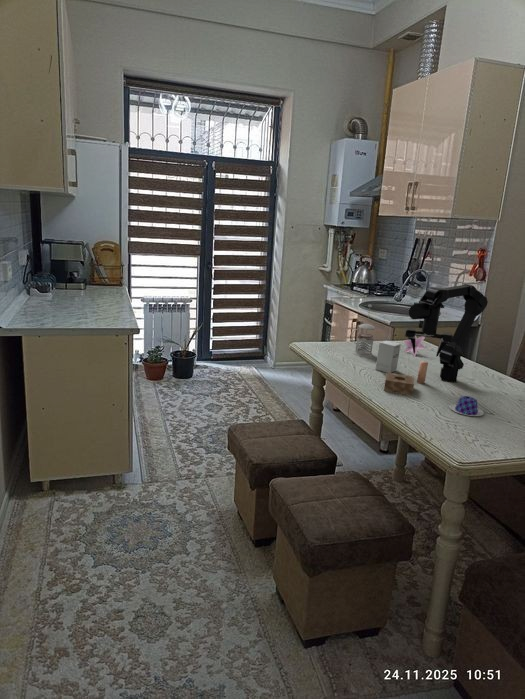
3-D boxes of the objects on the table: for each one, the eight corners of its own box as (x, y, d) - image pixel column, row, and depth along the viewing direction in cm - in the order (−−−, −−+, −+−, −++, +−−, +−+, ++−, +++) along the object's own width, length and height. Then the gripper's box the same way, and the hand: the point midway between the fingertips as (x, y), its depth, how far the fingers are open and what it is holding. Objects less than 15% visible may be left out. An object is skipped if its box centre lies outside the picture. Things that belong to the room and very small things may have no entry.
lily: (400, 351, 282) (398, 337, 276) (420, 343, 282) (419, 329, 277) (410, 364, 272) (409, 350, 267) (432, 356, 273) (431, 342, 267)
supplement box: (390, 373, 237) (394, 346, 233) (374, 369, 241) (378, 342, 238) (397, 370, 242) (401, 343, 239) (381, 366, 247) (386, 339, 243)
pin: (424, 382, 229) (428, 361, 227) (424, 384, 226) (428, 363, 224) (416, 380, 230) (420, 360, 227) (416, 383, 227) (420, 362, 224)
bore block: (412, 387, 221) (413, 376, 220) (412, 395, 210) (414, 384, 209) (385, 382, 223) (386, 372, 222) (383, 390, 213) (385, 380, 212)
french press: (373, 358, 260) (380, 307, 253) (349, 354, 262) (355, 304, 255) (373, 353, 269) (380, 303, 262) (350, 349, 271) (356, 301, 264)
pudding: (454, 403, 207) (457, 390, 206) (487, 412, 200) (489, 399, 199) (444, 411, 198) (447, 397, 196) (478, 420, 191) (480, 407, 190)
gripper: (453, 317, 226) (447, 353, 230) (408, 312, 230) (402, 347, 234) (455, 322, 215) (449, 360, 219) (408, 317, 220) (402, 353, 224)
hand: (425, 354), depth 224 cm, fingers open, 9 cm apart
